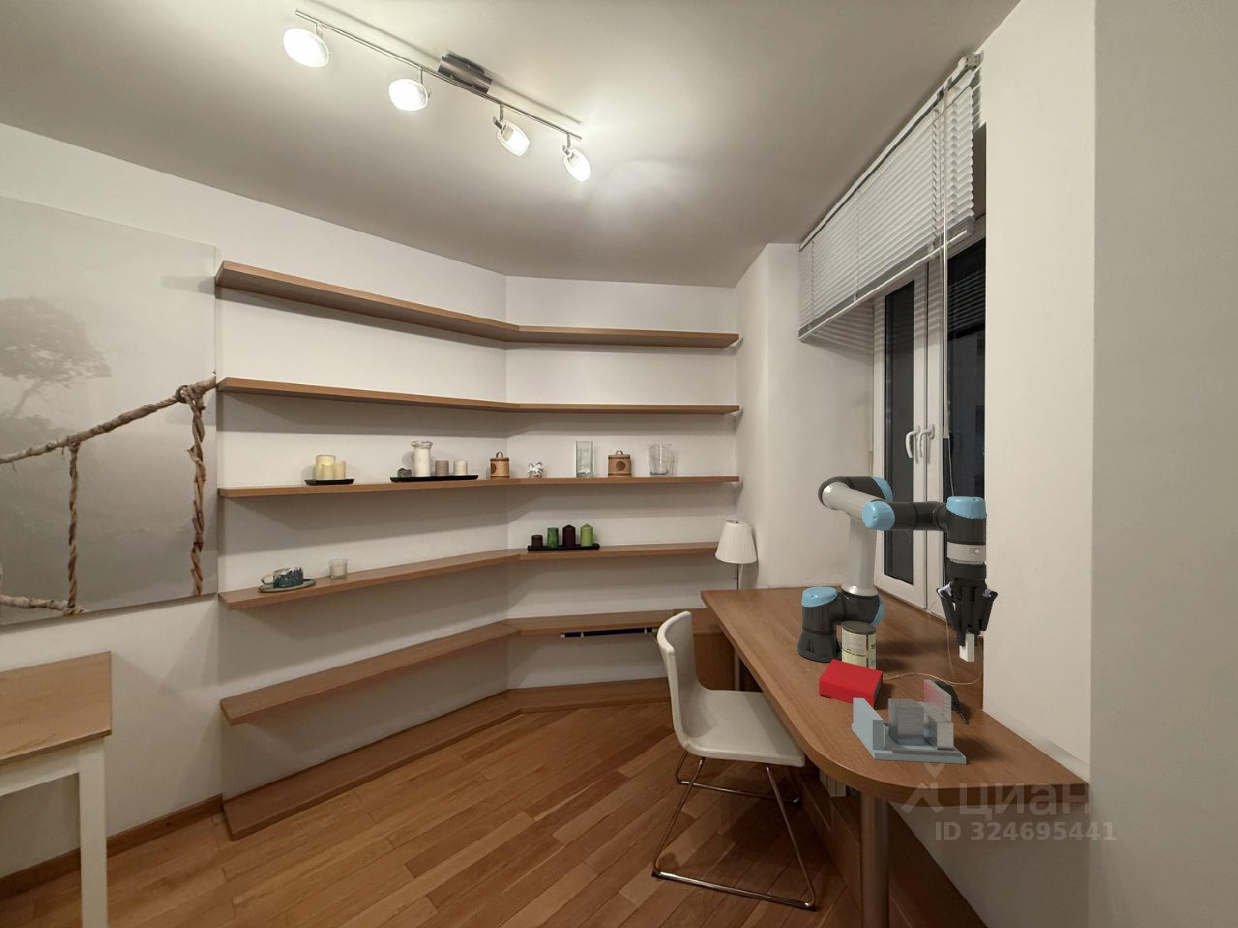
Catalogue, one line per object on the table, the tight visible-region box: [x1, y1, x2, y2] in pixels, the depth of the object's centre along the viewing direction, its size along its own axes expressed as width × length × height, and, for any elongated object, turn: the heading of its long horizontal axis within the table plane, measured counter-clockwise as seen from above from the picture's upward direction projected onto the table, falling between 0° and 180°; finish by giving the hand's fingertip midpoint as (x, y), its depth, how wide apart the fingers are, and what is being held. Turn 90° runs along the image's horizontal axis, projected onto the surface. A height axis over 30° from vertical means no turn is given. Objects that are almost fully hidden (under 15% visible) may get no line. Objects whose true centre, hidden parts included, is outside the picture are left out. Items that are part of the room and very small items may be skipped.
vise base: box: [851, 698, 967, 765], centre depth 109 cm, size 12×20×8 cm, turn 86°
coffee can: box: [841, 621, 877, 670], centre depth 151 cm, size 10×10×14 cm
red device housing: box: [818, 659, 884, 710], centre depth 136 cm, size 18×14×5 cm
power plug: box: [933, 680, 969, 725], centre depth 125 cm, size 6×8×12 cm
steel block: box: [887, 697, 924, 746], centre depth 109 cm, size 4×6×9 cm, turn 88°
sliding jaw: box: [917, 678, 954, 751], centre depth 109 cm, size 10×4×12 cm, turn 176°
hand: (966, 659), depth 108 cm, fingers closed
